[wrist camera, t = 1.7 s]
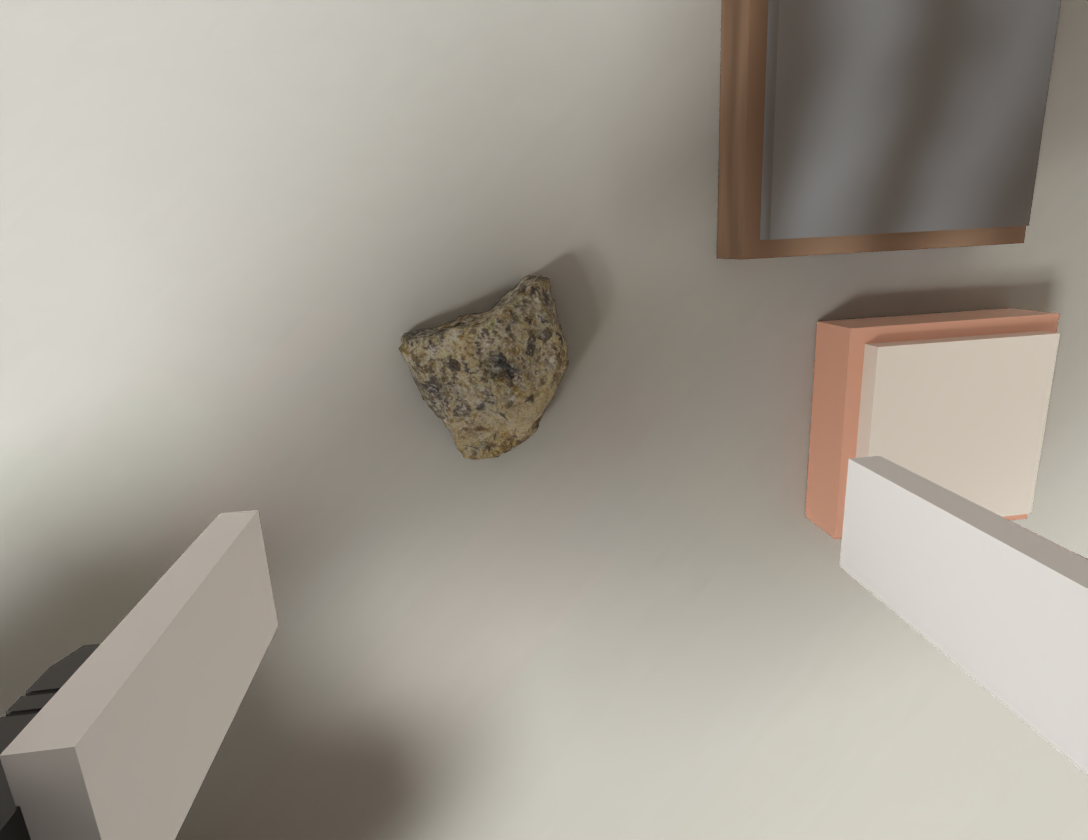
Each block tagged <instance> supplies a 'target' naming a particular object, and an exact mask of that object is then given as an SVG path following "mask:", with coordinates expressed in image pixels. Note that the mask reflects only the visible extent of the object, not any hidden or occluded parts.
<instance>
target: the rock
mask: <svg viewBox="0 0 1088 840" xmlns="http://www.w3.org/2000/svg"><path fill="white" fill-rule="evenodd" d="M555 307H556V306H555V300H554V299H553V297H552V296H551V285H550V281H549V279H548V278H544V277H542V276H541V275H540V276H539V277H536V276H532V277H530V276H526V277H525V278H523V279H522V280H521V281H520V282H519V283H518V285H517V286H516V287H515V288H514V289H512V290H510V291H508V292H507V294H506V295H504V296H503V297H502V298H501V300H500V301H499V302H497V303H496V304H495V306H494V308H493V309H492V310H490V311H488V312H484V313H474V314H471V315H465V316H464V317H462V316H459V317H458V318H457V319H456V320H454V321H452V322H448V323H446V324H445V325H443V326H440V327H438V328H426V329H419V330H416V331H414V332H408V333H404V335H403V336H402V337H401V341H402V345H401V346H400V347H399V350H400V352H401V354H402V356H403V358H404V360H405V361H406V363H407V364H408V366H409V367H410V371H411V373H412V375H413V378H414V380H415V382H416V384H417V386H418V388H419V390H420V392H421V395H422V398H423V400H425V401H426V402H427V404H428V406H429V407H430V408H431V409H432V410H433V411H434V412H435V414H436V415H437V416H438V417H439V418H441V419H443V422H444V424H445V426H446V427H447V428H448V429H449V430H450V431H451V433H452V434H453V437H454V440H455V445H456V446H457V448H458V450H459V451H460V452H461V453H462V455H463V457H465V458H469V459H484V458H488V457H490V458H493V457H498V456H500V455H501V454H503V453H506V452H508V451H510V450H511V449H513V448H515V447H516V446H518V445H519V444H521V443H522V442H524V441H525V440H527V439H528V438H529V437H530V436H531V435H533V434H534V433H535V432H536V431H537V429H538V426H539V422H540V421H541V418H542V413H543V411H544V409H545V408H546V407H547V405H548V404H549V402H550V400H552V399H553V398H554V396H555V390H556V389H557V387H558V385H559V383H560V381H561V379H562V377H563V373H564V372H565V370H566V368H567V366H568V362H569V361H568V359H567V347H566V346H567V345H566V340H565V338H564V336H563V334H562V333H561V325H560V323H559V321H558V320H557V313H556V309H555Z"/></svg>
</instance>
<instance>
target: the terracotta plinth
mask: <svg viewBox="0 0 1088 840" xmlns="http://www.w3.org/2000/svg"><path fill="white" fill-rule="evenodd" d="M1058 319H1059V313H1050V312H1041V311H1032V310H1023V309H1013V308H1004V309H989V310H975V311H961V312H946V313H932V314H918V315H903V316H889V317H875V318H860V319H846V320H832V321H817V330H816V347H815V363H814V379H813V396H812V412H811V428H810V445H809V461H808V477H807V494H806V510H805V517H807V518H808V519H809V520H811V521H812V522H813V523H814V524H816V525H817V526H818V527H820V528H821V529H822V530H823V531H825V532H826V533H827V534H829V535H830V536H831V537H832V538H834V539H842V531H843V519H844V507H845V496H846V484H847V473H848V461H849V458H860V457H871V456H881V457H883V458H885V459H887V460H889V461H891V462H893V463H895V464H897V465H899V466H901V467H903V468H905V469H907V470H909V471H911V472H913V473H915V474H917V475H919V476H921V477H923V478H925V479H927V480H929V481H931V482H933V483H935V484H937V485H939V486H941V487H943V488H945V489H947V490H949V491H951V492H953V493H955V494H957V495H959V496H961V497H963V498H965V499H967V500H969V501H971V502H973V503H975V504H977V505H979V506H981V507H983V508H985V509H987V510H990V511H992V512H994V513H996V514H998V515H1000V516H1002V517H1004V518H1006V519H1008V520H1017V519H1026V518H1027V514H1031V511H1032V505H1033V498H1034V492H1035V486H1036V480H1037V474H1038V468H1039V461H1040V455H1041V449H1042V443H1043V437H1044V431H1045V424H1046V418H1047V412H1048V406H1049V400H1050V394H1051V387H1052V381H1053V375H1054V369H1055V363H1056V357H1057V350H1058V344H1059V338H1060V333H1056V332H1057V325H1058Z"/></svg>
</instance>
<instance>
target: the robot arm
mask: <svg viewBox="0 0 1088 840" xmlns="http://www.w3.org/2000/svg"><path fill="white" fill-rule="evenodd" d="M839 566H840V567H841V568H842V569H843V570H844V571H846V572H847V573H848V574H849V575H850V576H852V577H853V578H854V579H855V580H856V581H858V582H859V583H860V584H861V585H862V586H863V587H865V588H866V589H867V590H868V591H869V592H871V593H872V594H873V595H874V596H875V597H876V598H878V599H879V600H880V601H881V602H882V603H884V604H885V605H886V606H887V607H888V608H890V609H891V610H892V611H893V612H894V613H895V614H897V615H898V616H899V617H900V618H901V619H903V620H904V621H905V622H906V623H907V624H908V625H910V626H911V627H912V628H913V629H914V630H916V631H917V632H918V633H919V634H920V635H922V636H923V637H924V638H925V639H926V640H927V641H929V642H930V643H931V644H932V645H933V646H935V647H936V648H937V649H938V650H939V651H940V652H942V653H943V654H944V655H945V656H946V657H948V658H949V659H950V660H951V661H952V662H954V663H955V664H956V665H957V666H958V667H959V668H961V669H962V670H963V671H964V672H965V673H967V674H968V675H969V676H970V677H971V678H972V679H974V680H975V681H976V682H977V683H978V684H980V685H981V686H982V687H983V688H984V689H986V690H987V691H988V692H989V693H990V694H991V695H993V696H994V697H995V698H996V699H997V700H999V701H1000V702H1001V703H1002V704H1003V705H1004V706H1006V707H1007V708H1008V709H1009V710H1010V711H1012V712H1013V713H1014V714H1015V715H1016V716H1018V717H1019V718H1020V719H1021V720H1022V721H1023V722H1025V723H1026V724H1027V725H1028V726H1029V727H1031V728H1032V729H1033V730H1034V731H1035V732H1036V733H1038V734H1039V735H1040V736H1041V737H1042V738H1044V739H1045V740H1046V741H1047V742H1048V743H1050V744H1051V745H1052V746H1053V747H1054V748H1055V749H1057V750H1058V751H1059V752H1060V753H1061V754H1063V755H1064V756H1065V757H1066V758H1067V759H1068V760H1070V761H1071V762H1072V763H1073V764H1074V765H1076V766H1077V767H1078V768H1079V769H1080V770H1081V771H1083V772H1084V773H1085V774H1086V775H1087V776H1088V559H1086V558H1084V557H1082V556H1080V555H1078V554H1076V553H1074V552H1072V551H1070V550H1068V549H1066V548H1064V547H1062V546H1060V545H1058V544H1056V543H1054V542H1052V541H1050V540H1048V539H1046V538H1044V537H1042V536H1040V535H1038V534H1036V533H1034V532H1032V531H1030V530H1028V529H1026V528H1024V527H1022V526H1020V525H1018V524H1016V523H1014V522H1012V521H1010V520H1008V519H1006V518H1004V517H1002V516H1000V515H998V514H996V513H994V512H992V511H990V510H987V509H985V508H983V507H981V506H979V505H977V504H975V503H973V502H971V501H969V500H967V499H965V498H963V497H961V496H959V495H957V494H955V493H953V492H951V491H949V490H947V489H945V488H943V487H941V486H939V485H937V484H935V483H933V482H931V481H929V480H927V479H925V478H923V477H921V476H919V475H917V474H915V473H913V472H911V471H909V470H907V469H905V468H903V467H901V466H899V465H897V464H895V463H893V462H891V461H889V460H887V459H885V458H883V457H881V456H871V457H860V458H849V461H848V473H847V484H846V496H845V507H844V519H843V531H842V542H841V554H840V565H839ZM277 628H278V620H277V615H276V609H275V603H274V597H273V592H272V586H271V580H270V575H269V569H268V563H267V558H266V552H265V546H264V540H263V535H262V529H261V523H260V518H259V512H258V510H249V511H237V512H226V513H219V514H218V516H217V517H216V518H215V519H214V520H213V521H212V522H211V523H210V524H209V525H208V527H207V528H206V529H205V530H204V531H203V532H202V533H201V534H200V535H199V536H198V538H197V539H196V540H195V541H194V542H193V543H192V544H191V545H190V546H189V547H188V549H187V550H186V551H185V552H184V553H183V554H182V555H181V556H180V557H179V558H178V560H177V561H176V562H175V563H174V564H173V565H172V566H171V567H170V568H169V569H168V571H167V572H166V573H165V574H164V575H163V576H162V577H161V578H160V579H159V580H158V582H157V583H156V584H155V585H154V586H153V587H152V588H151V589H150V590H149V591H148V593H147V594H146V595H145V596H144V597H143V598H142V599H141V600H140V601H139V602H138V604H137V605H136V606H135V607H134V608H133V609H132V610H131V611H130V612H129V613H128V615H127V616H126V617H125V618H124V619H123V620H122V621H121V622H120V623H119V624H118V626H117V627H116V628H115V629H114V630H113V631H112V632H111V633H110V634H109V635H108V637H107V638H106V639H105V640H104V641H103V642H102V643H101V644H96V645H86V646H83V647H81V648H79V649H78V650H76V651H75V652H73V653H72V654H70V655H69V656H67V657H65V658H64V659H62V660H61V661H59V662H58V663H56V664H55V665H53V666H52V667H50V668H49V669H48V670H47V671H46V672H45V673H44V674H43V675H42V676H41V677H40V678H39V679H38V680H37V681H36V682H35V683H34V684H33V685H32V686H31V687H30V688H29V689H28V690H27V691H26V696H23V697H21V698H20V699H19V700H18V701H17V702H16V703H15V704H14V705H13V706H12V707H11V708H10V709H9V710H8V711H7V712H6V717H1V718H0V840H175V839H176V836H177V834H178V832H179V830H180V828H181V826H182V824H183V822H184V820H185V818H186V816H187V814H188V812H189V810H190V807H191V805H192V803H193V801H194V799H195V797H196V795H197V793H198V791H199V789H200V787H201V785H202V783H203V781H204V779H205V776H206V774H207V772H208V770H209V768H210V766H211V764H212V762H213V760H214V758H215V756H216V754H217V752H218V750H219V747H220V745H221V743H222V741H223V739H224V737H225V735H226V733H227V731H228V729H229V727H230V725H231V723H232V721H233V719H234V716H235V714H236V712H237V710H238V708H239V706H240V704H241V702H242V700H243V698H244V696H245V694H246V692H247V690H248V688H249V685H250V683H251V681H252V679H253V677H254V675H255V673H256V671H257V669H258V667H259V665H260V663H261V661H262V659H263V656H264V654H265V652H266V650H267V648H268V646H269V644H270V642H271V640H272V638H273V636H274V634H275V632H276V630H277Z"/></svg>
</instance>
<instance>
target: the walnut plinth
mask: <svg viewBox="0 0 1088 840" xmlns="http://www.w3.org/2000/svg"><path fill="white" fill-rule="evenodd" d="M1060 3H1061V0H722V22H721V73H720V125H719V176H718V228H717V258H723V259H756V258H773V257H790V256H807V255H825V254H842V253H859V252H876V251H894V250H911V249H928V248H945V247H963V246H980V245H997V244H1014V243H1024V238H1025V231H1026V226H1029V221H1030V214H1031V207H1032V200H1033V193H1034V186H1035V179H1036V172H1037V165H1038V158H1039V151H1040V144H1041V137H1042V130H1043V123H1044V116H1045V109H1046V102H1047V95H1048V88H1049V81H1050V73H1051V66H1052V59H1053V52H1054V45H1055V38H1056V31H1057V24H1058V17H1059V10H1060Z"/></svg>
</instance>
